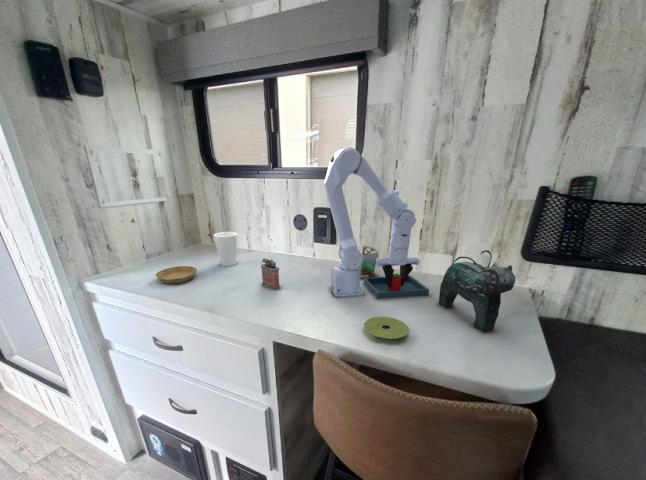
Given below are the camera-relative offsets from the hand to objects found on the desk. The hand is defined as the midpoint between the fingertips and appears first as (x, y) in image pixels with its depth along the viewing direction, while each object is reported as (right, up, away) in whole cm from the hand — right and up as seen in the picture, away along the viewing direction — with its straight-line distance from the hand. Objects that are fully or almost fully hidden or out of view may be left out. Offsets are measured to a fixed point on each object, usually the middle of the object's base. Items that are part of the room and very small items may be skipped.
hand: (394, 285), depth 105 cm
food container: (-6, +4, +14) cm, 16 cm away
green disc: (-10, -14, -25) cm, 30 cm away
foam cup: (-64, +11, +28) cm, 71 cm away
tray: (0, -1, +1) cm, 2 cm away
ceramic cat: (+14, -10, -18) cm, 25 cm away
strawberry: (0, -1, +1) cm, 1 cm away
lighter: (-43, 0, +4) cm, 43 cm away
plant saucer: (-80, +3, +13) cm, 81 cm away
